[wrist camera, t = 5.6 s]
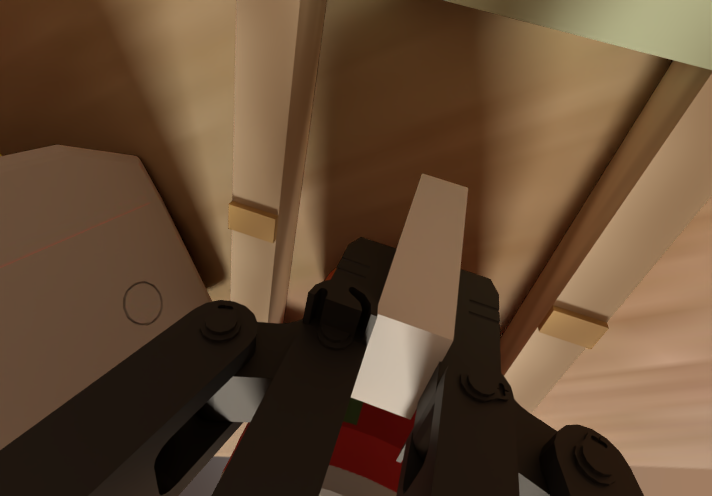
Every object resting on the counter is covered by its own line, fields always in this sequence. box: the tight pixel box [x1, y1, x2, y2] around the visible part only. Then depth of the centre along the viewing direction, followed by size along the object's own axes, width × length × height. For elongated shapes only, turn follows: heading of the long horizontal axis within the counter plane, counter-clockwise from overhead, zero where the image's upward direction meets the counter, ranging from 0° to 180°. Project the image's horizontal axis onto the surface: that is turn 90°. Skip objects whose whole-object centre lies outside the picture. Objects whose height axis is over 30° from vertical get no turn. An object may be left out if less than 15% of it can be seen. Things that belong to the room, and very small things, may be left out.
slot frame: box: [228, 0, 712, 414], centre depth 17 cm, size 15×22×3 cm
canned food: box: [221, 268, 417, 496], centre depth 16 cm, size 8×8×11 cm
